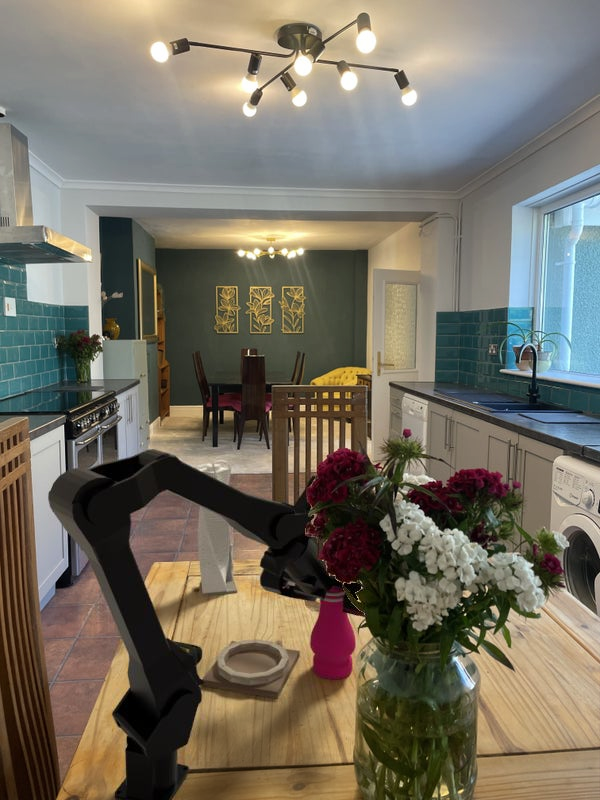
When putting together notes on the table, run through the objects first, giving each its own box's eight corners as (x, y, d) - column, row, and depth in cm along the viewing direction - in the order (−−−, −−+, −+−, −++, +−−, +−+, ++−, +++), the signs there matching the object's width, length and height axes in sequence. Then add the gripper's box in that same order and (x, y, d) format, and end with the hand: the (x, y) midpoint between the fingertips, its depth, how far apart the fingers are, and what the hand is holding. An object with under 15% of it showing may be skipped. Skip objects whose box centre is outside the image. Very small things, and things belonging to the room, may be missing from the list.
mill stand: (277, 698, 86) (277, 684, 86) (201, 685, 90) (201, 671, 89) (299, 656, 98) (299, 643, 98) (231, 646, 101) (231, 634, 101)
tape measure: (204, 664, 96) (204, 642, 95) (182, 687, 89) (182, 664, 89) (168, 657, 98) (167, 635, 98) (144, 679, 92) (143, 656, 91)
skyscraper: (238, 595, 121) (237, 460, 119) (198, 599, 119) (196, 462, 117) (233, 579, 130) (232, 452, 127) (195, 582, 128) (193, 454, 125)
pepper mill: (338, 687, 89) (340, 558, 87) (300, 670, 94) (301, 548, 92) (363, 666, 95) (365, 545, 93) (326, 652, 100) (327, 536, 97)
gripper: (379, 520, 84) (406, 570, 94) (269, 501, 93) (305, 548, 104) (353, 594, 78) (385, 638, 88) (239, 565, 87) (280, 608, 98)
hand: (337, 604), depth 95 cm, fingers open, 8 cm apart
